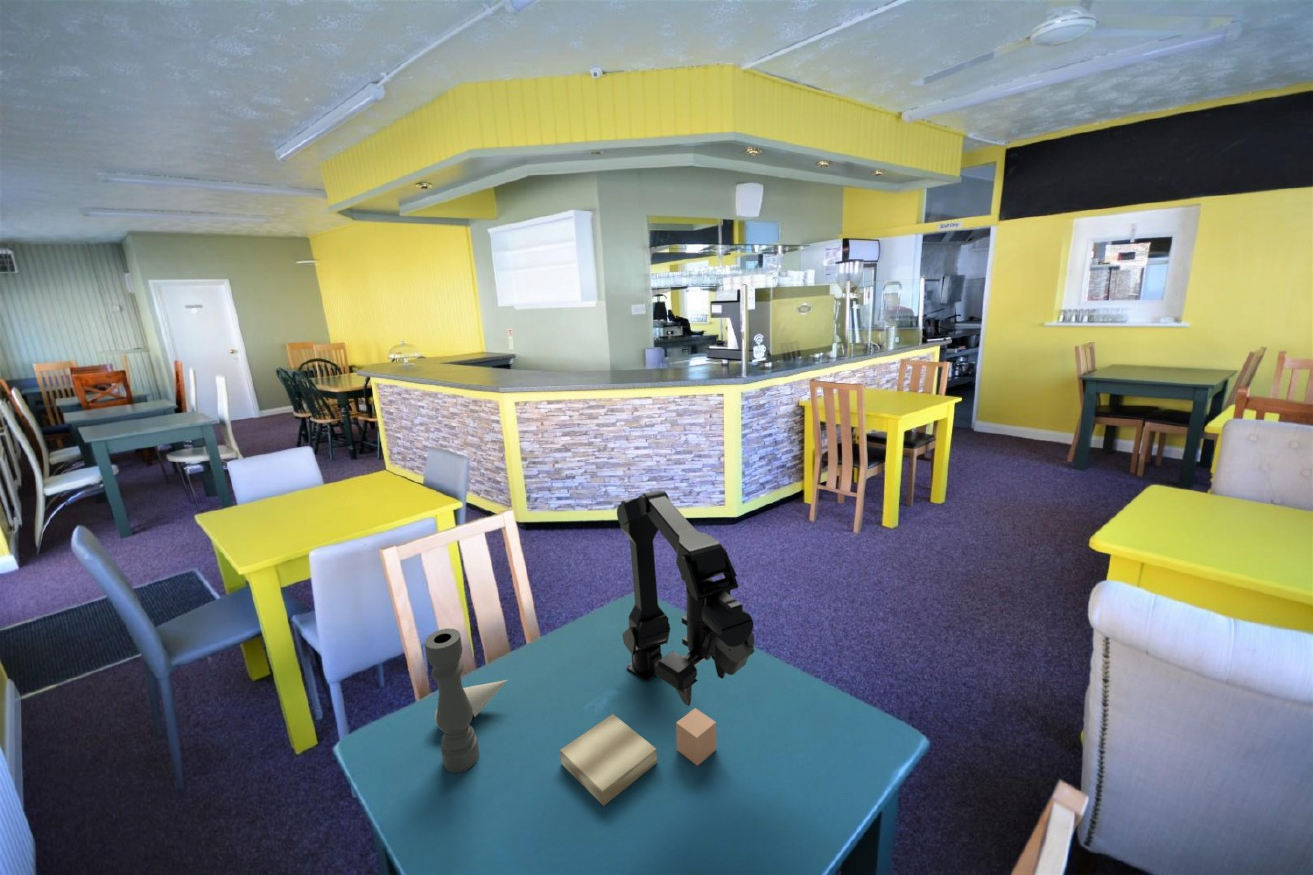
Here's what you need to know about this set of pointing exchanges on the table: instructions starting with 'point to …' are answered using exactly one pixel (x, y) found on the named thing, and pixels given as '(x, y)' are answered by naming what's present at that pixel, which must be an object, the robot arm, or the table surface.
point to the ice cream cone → (481, 695)
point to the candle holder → (452, 701)
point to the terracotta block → (696, 736)
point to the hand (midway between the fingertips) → (704, 690)
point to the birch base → (608, 758)
